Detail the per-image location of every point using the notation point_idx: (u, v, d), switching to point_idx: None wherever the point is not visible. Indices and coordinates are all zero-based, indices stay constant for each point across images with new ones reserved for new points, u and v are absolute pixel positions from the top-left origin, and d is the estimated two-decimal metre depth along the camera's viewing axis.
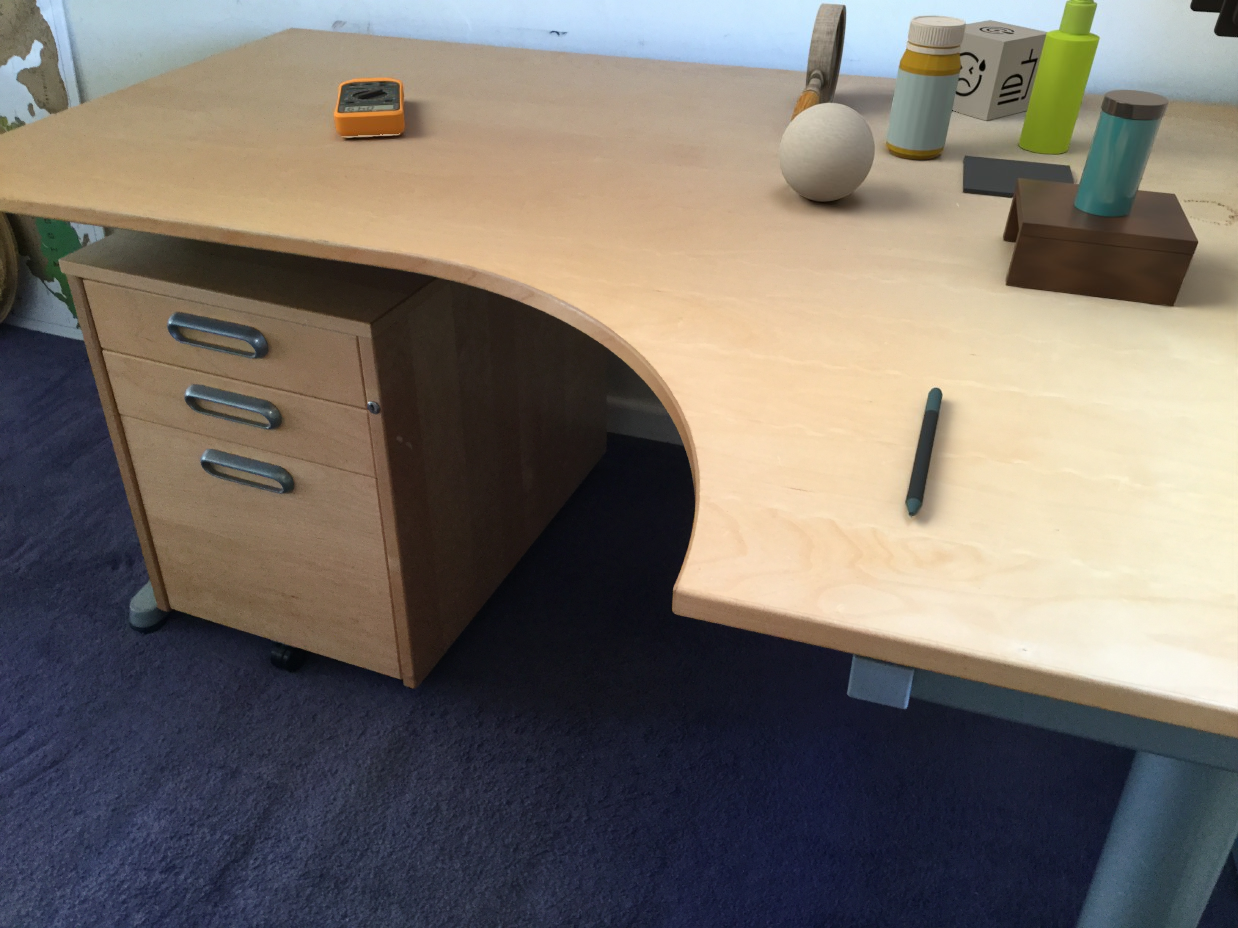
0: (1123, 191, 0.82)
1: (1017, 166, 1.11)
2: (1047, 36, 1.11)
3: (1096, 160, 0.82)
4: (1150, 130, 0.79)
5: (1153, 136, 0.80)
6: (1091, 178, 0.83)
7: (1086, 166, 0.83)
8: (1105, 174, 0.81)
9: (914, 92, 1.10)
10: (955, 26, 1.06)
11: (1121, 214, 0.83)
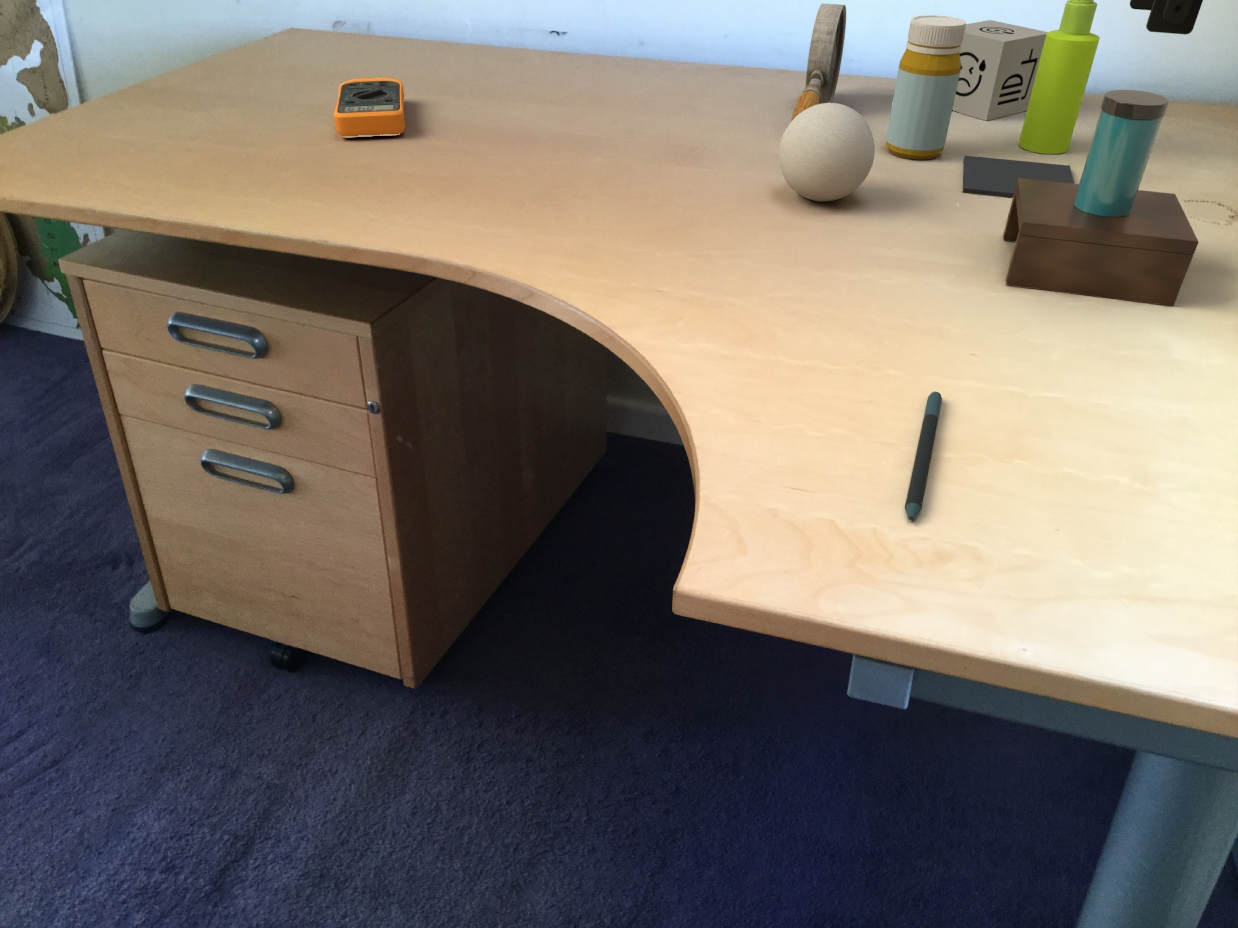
0: (1123, 191, 0.82)
1: (1017, 166, 1.11)
2: (1047, 36, 1.11)
3: (1096, 160, 0.82)
4: (1150, 130, 0.79)
5: (1153, 136, 0.80)
6: (1091, 178, 0.83)
7: (1086, 166, 0.83)
8: (1105, 174, 0.81)
9: (914, 92, 1.10)
10: (955, 26, 1.06)
11: (1121, 214, 0.83)
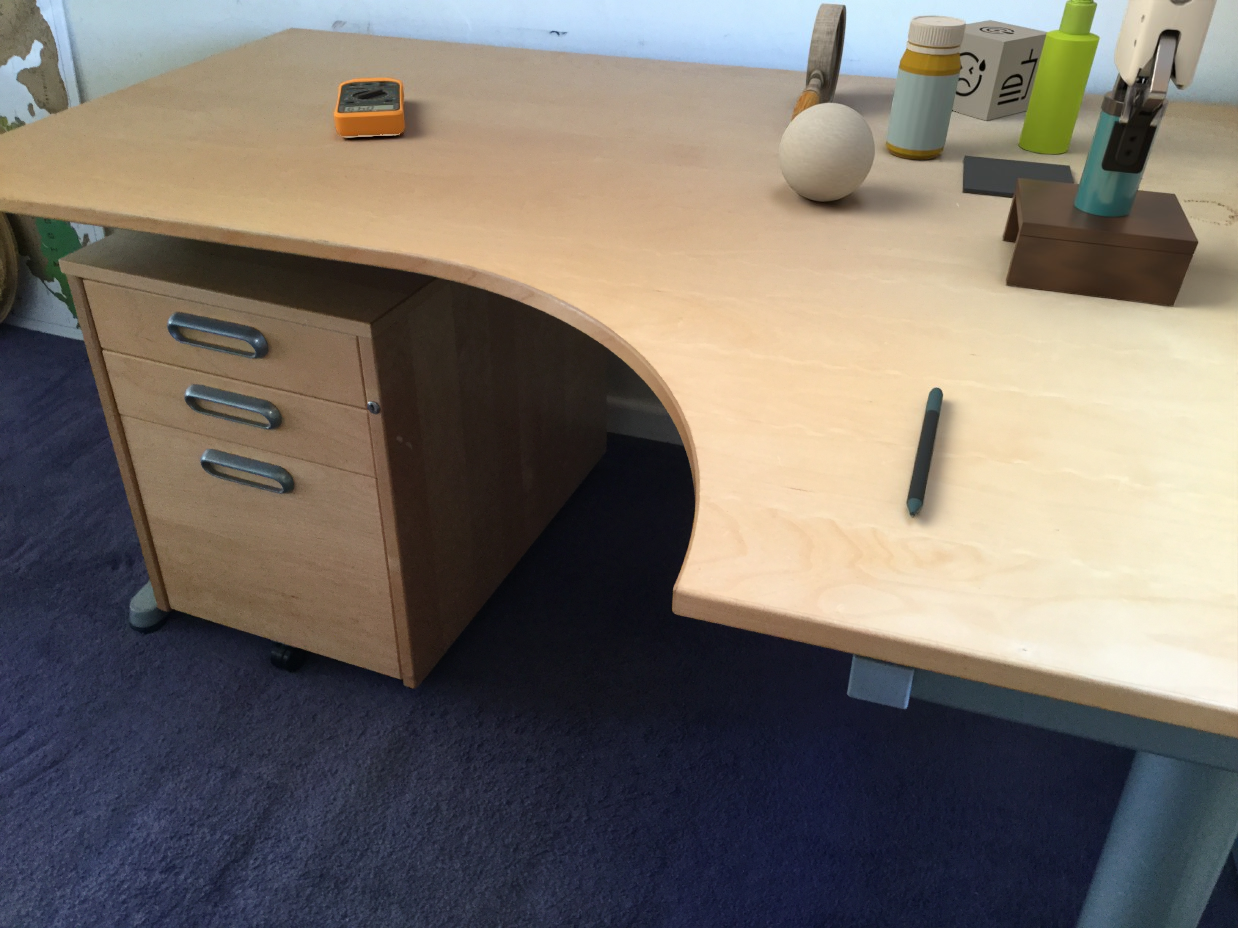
0: (1123, 191, 0.82)
1: (1017, 166, 1.11)
2: (1047, 36, 1.11)
3: (1096, 160, 0.82)
4: None
5: None
6: (1091, 178, 0.83)
7: (1086, 166, 0.83)
8: (1105, 174, 0.81)
9: (914, 92, 1.10)
10: (955, 26, 1.06)
11: (1121, 214, 0.83)
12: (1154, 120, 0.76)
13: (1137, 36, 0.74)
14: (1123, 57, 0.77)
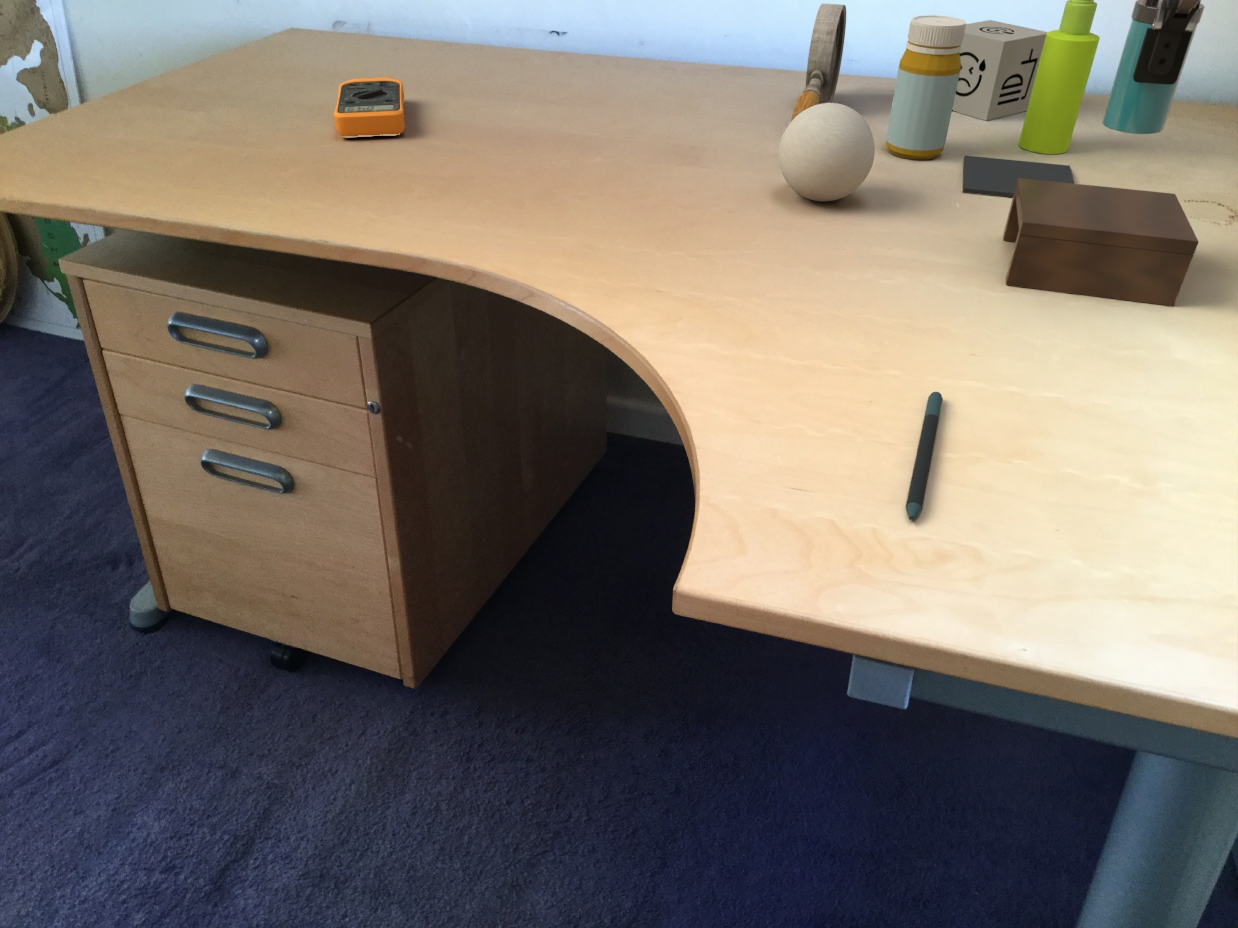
0: (1156, 105, 0.78)
1: (1017, 166, 1.11)
2: (1047, 36, 1.11)
3: (1126, 73, 0.78)
4: None
5: None
6: (1121, 93, 0.78)
7: (1116, 81, 0.79)
8: (1137, 88, 0.77)
9: (914, 92, 1.10)
10: (955, 26, 1.06)
11: (1153, 131, 0.79)
12: (1190, 24, 0.72)
13: None
14: None
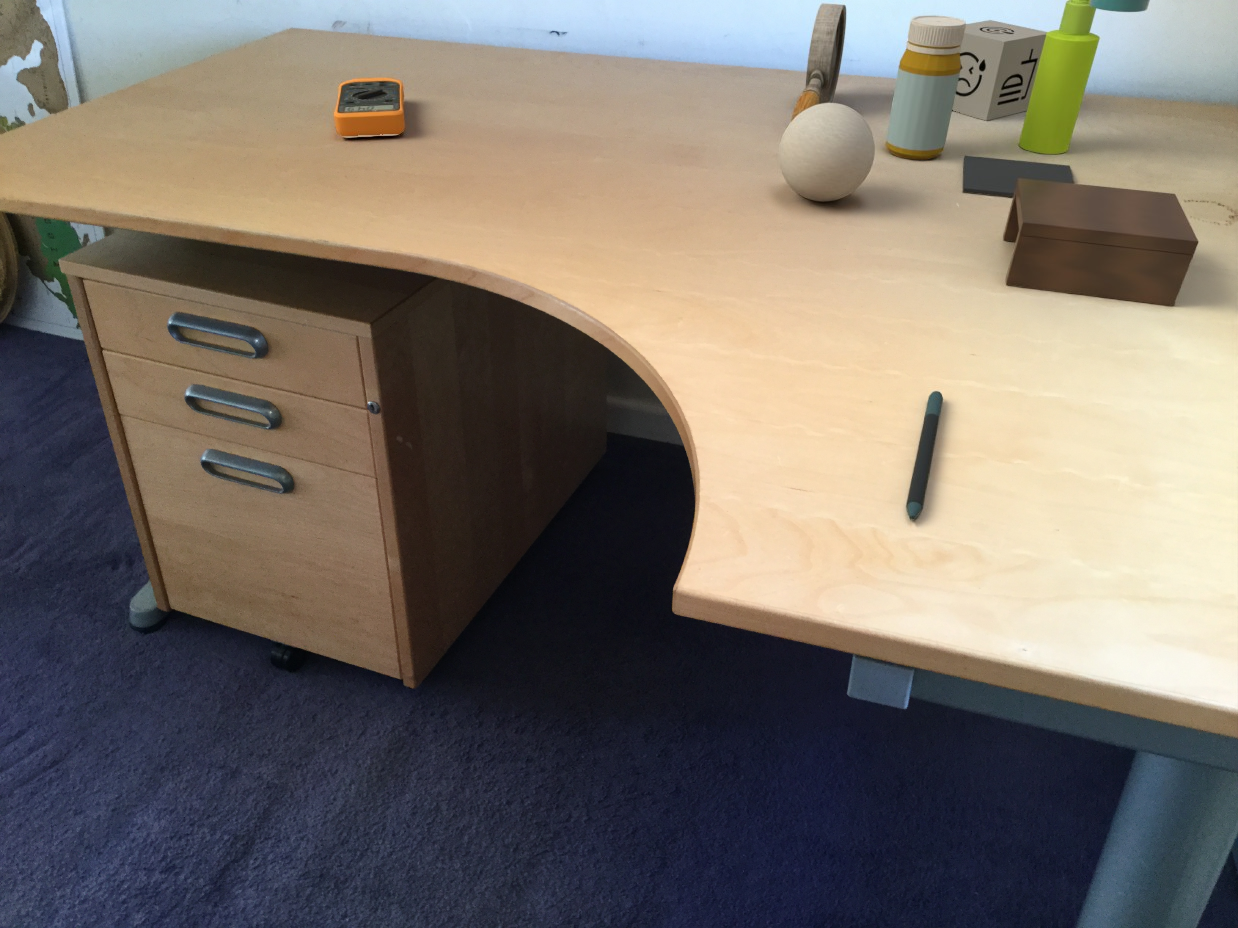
0: None
1: (1017, 166, 1.11)
2: (1047, 36, 1.11)
3: None
4: None
5: None
6: None
7: None
8: None
9: (914, 92, 1.10)
10: (955, 26, 1.06)
11: (1138, 9, 0.82)
12: None
13: None
14: None
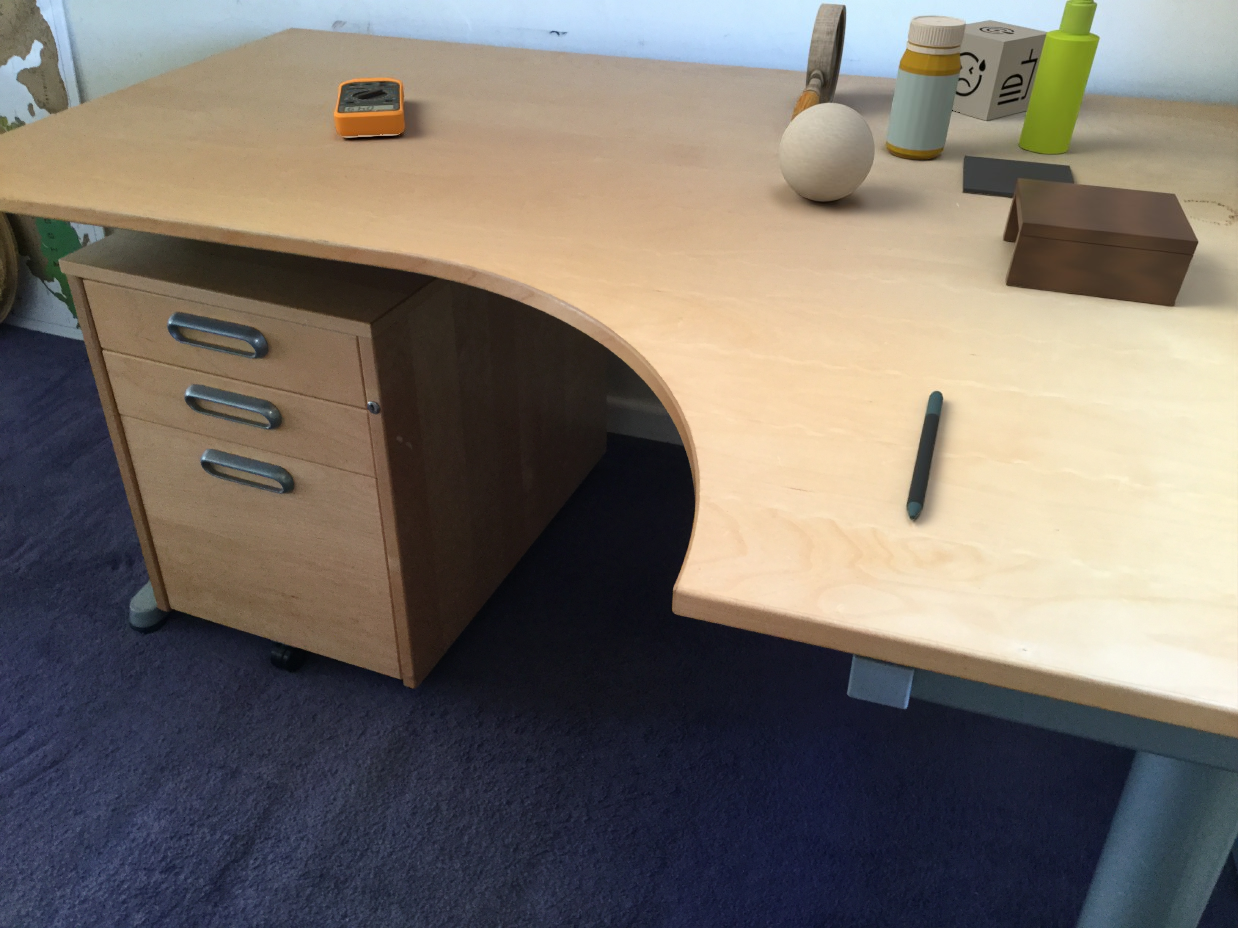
0: None
1: (1017, 166, 1.11)
2: (1047, 36, 1.11)
3: None
4: None
5: None
6: None
7: None
8: None
9: (914, 92, 1.10)
10: (955, 26, 1.06)
11: None
12: None
13: None
14: None
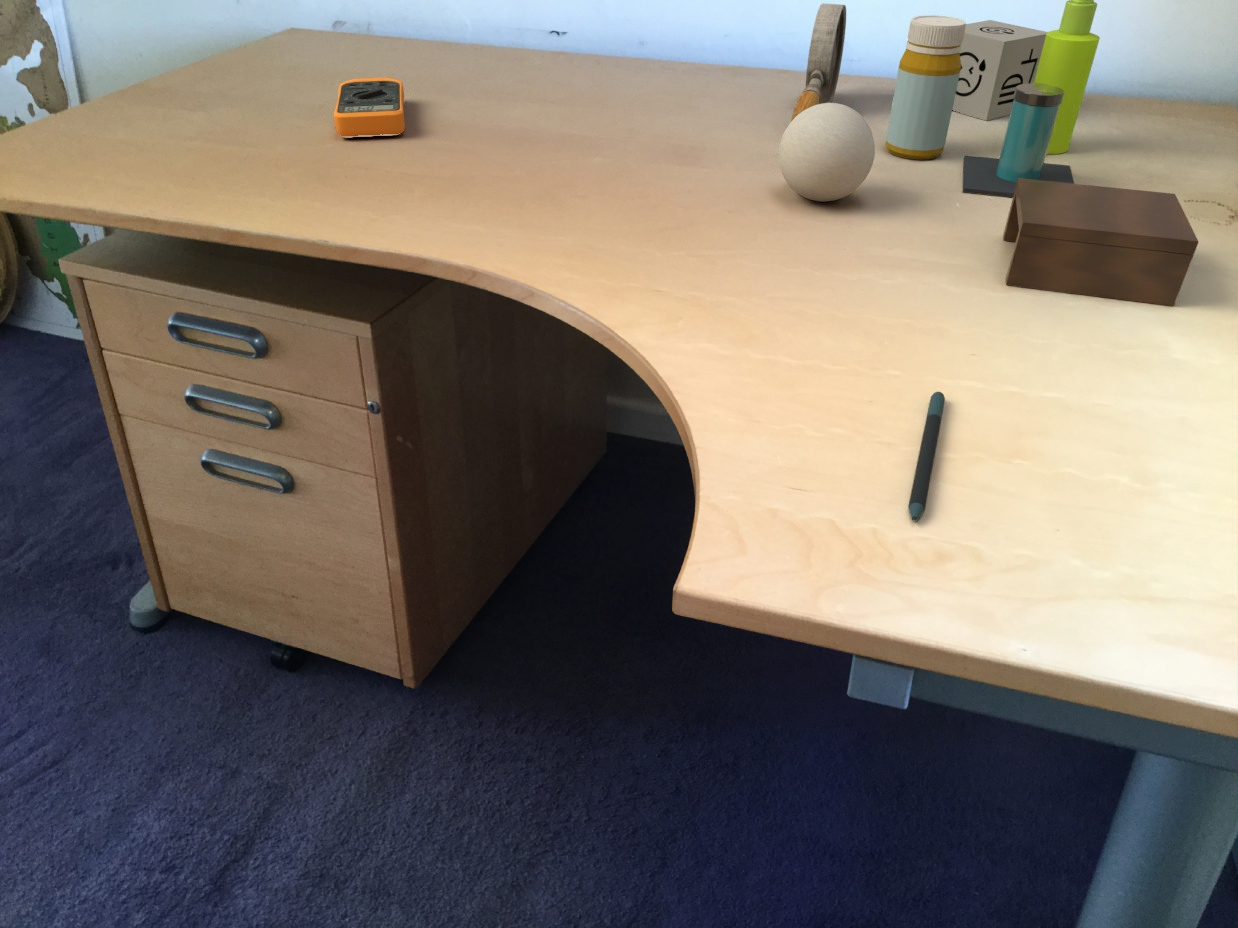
0: (1031, 162, 1.05)
1: None
2: (1047, 36, 1.11)
3: (1010, 138, 1.05)
4: (1050, 114, 1.02)
5: (1053, 119, 1.03)
6: (1007, 152, 1.06)
7: (1004, 143, 1.06)
8: (1017, 149, 1.04)
9: (914, 92, 1.10)
10: (955, 26, 1.06)
11: None
12: None
13: None
14: None
